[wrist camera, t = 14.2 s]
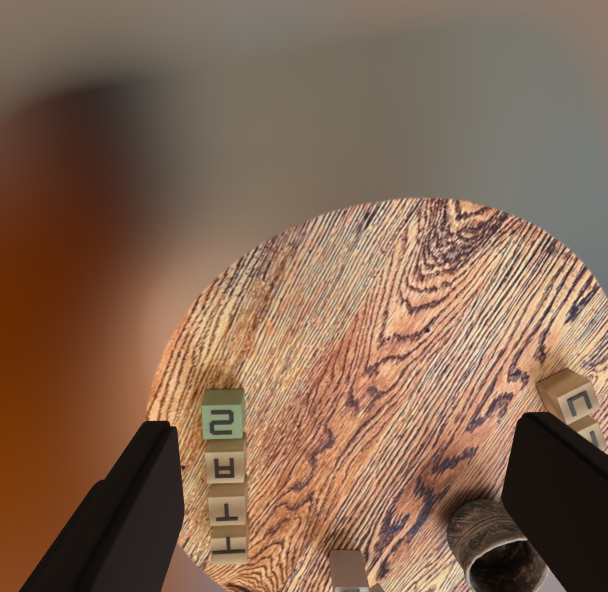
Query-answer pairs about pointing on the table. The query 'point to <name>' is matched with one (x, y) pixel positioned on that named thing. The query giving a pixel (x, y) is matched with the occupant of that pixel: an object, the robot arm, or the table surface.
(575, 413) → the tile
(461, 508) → the mug
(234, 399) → the green number block
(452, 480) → the table surface
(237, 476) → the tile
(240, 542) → the beige letter block
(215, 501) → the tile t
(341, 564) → the grey y-shaped block
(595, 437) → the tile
